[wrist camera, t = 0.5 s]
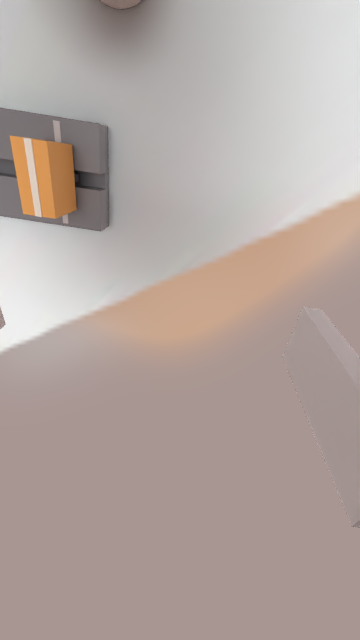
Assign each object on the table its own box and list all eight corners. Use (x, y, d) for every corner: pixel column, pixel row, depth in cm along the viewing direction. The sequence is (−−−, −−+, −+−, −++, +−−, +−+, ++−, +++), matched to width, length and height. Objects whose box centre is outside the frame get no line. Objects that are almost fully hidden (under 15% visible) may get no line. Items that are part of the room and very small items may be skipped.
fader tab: (51, 140, 27) (8, 135, 21) (80, 145, 27) (45, 141, 21) (57, 203, 30) (22, 214, 24) (83, 207, 30) (54, 219, 24)
